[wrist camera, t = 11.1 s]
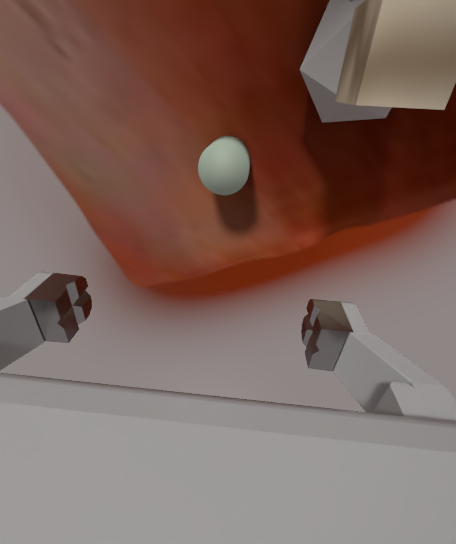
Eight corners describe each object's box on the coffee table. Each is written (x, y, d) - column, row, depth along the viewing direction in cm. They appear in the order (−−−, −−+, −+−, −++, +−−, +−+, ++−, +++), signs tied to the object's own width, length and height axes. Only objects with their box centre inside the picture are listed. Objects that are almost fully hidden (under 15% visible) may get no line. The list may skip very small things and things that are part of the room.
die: (418, 39, 24) (453, -90, 15) (401, 140, 25) (425, 72, 16) (320, 55, 28) (304, -43, 19) (307, 144, 28) (286, 89, 19)
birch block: (354, 8, 17) (386, -17, 13) (436, 11, 17) (494, -13, 13) (334, 101, 20) (355, 105, 16) (404, 105, 20) (444, 109, 16)
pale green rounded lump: (201, 141, 29) (192, 147, 25) (246, 131, 29) (244, 136, 24) (212, 186, 32) (205, 199, 28) (253, 178, 31) (253, 190, 27)
